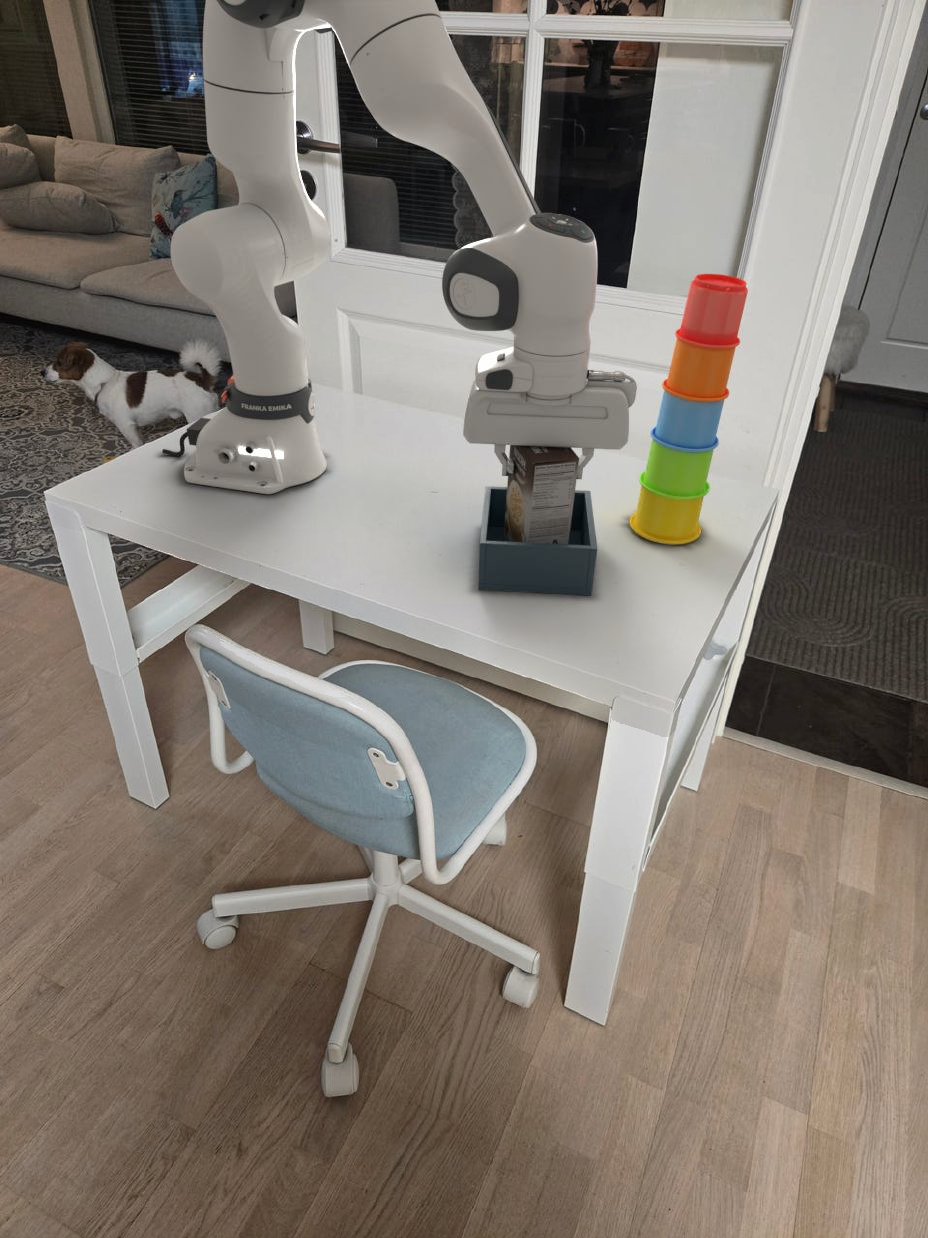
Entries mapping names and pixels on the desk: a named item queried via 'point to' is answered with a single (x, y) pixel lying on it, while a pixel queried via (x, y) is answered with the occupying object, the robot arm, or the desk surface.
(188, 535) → the desk surface
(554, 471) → the coffee box
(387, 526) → the desk surface
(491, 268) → the robot arm
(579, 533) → the open square box
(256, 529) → the desk surface
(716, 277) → the stacking cups
